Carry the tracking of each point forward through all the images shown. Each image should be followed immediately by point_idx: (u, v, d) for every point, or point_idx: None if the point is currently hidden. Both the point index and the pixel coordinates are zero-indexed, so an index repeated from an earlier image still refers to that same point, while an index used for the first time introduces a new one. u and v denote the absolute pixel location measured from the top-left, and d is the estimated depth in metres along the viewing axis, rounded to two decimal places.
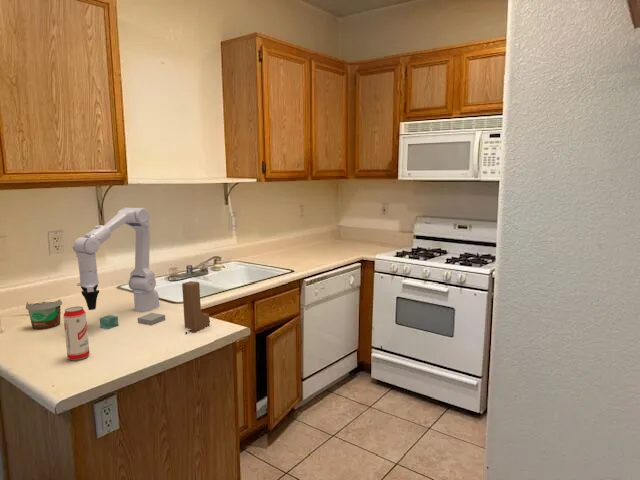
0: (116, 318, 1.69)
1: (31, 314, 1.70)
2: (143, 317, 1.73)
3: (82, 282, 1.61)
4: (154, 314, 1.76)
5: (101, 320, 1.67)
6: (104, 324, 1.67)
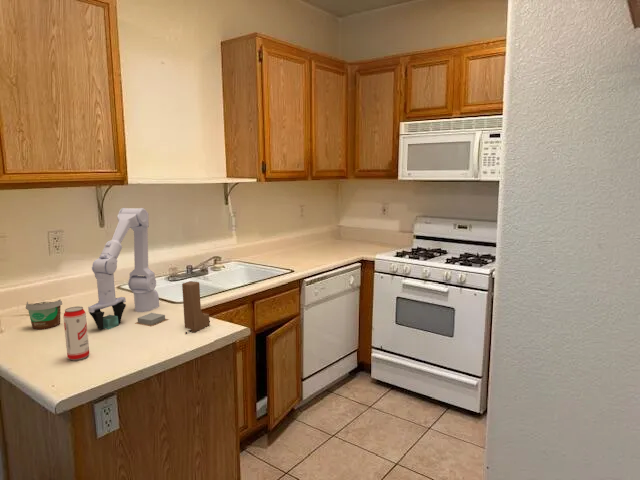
0: (116, 318, 1.69)
1: (31, 314, 1.70)
2: (143, 317, 1.73)
3: None
4: (154, 314, 1.76)
5: None
6: (104, 324, 1.67)
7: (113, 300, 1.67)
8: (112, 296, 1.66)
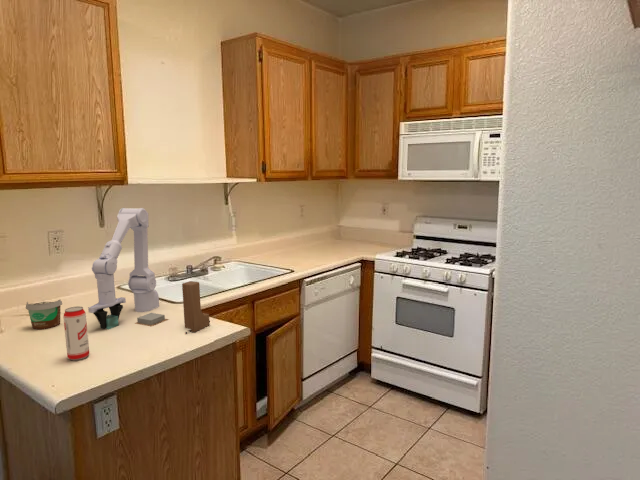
0: (116, 318, 1.69)
1: (31, 314, 1.70)
2: (143, 317, 1.73)
3: None
4: (154, 314, 1.76)
5: None
6: None
7: (113, 300, 1.67)
8: (112, 296, 1.66)
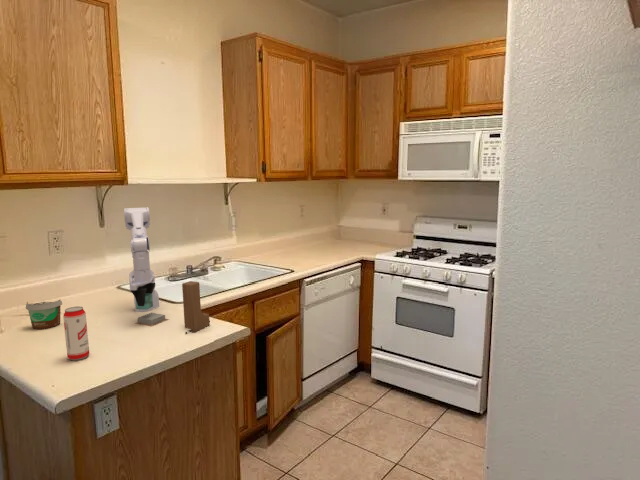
0: (151, 295, 1.73)
1: (31, 314, 1.70)
2: (143, 317, 1.73)
3: (134, 279, 1.70)
4: (154, 314, 1.76)
5: None
6: None
7: (150, 278, 1.71)
8: (149, 274, 1.71)
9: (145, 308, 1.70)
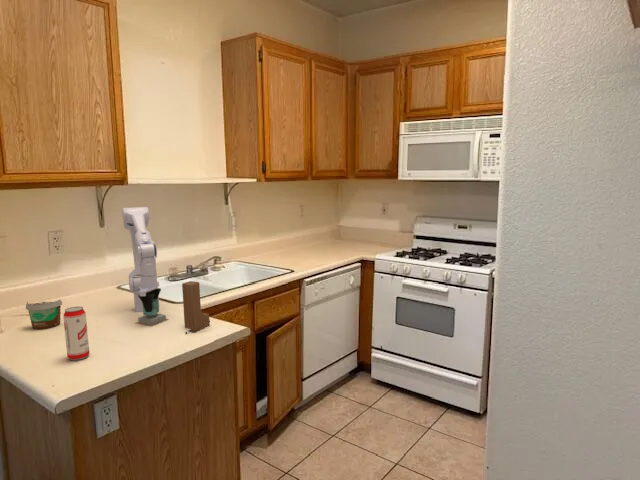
0: (157, 301, 1.75)
1: (31, 314, 1.70)
2: (144, 317, 1.73)
3: (141, 285, 1.70)
4: None
5: None
6: None
7: (157, 283, 1.73)
8: (156, 280, 1.72)
9: (153, 314, 1.72)
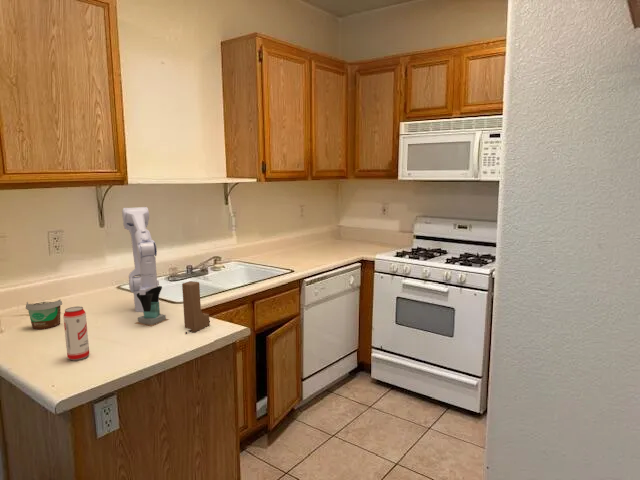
0: (158, 304, 1.75)
1: (31, 314, 1.70)
2: (143, 317, 1.73)
3: (141, 284, 1.70)
4: None
5: None
6: None
7: (156, 282, 1.72)
8: (156, 278, 1.72)
9: (153, 317, 1.72)
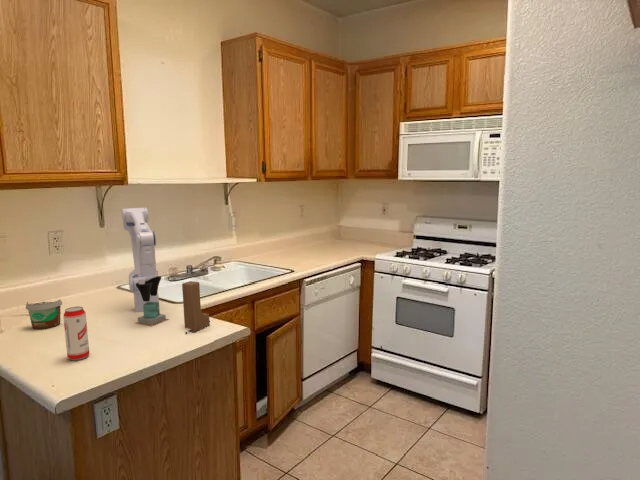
0: (158, 304, 1.75)
1: (31, 314, 1.70)
2: (143, 317, 1.73)
3: (140, 274, 1.70)
4: None
5: (145, 307, 1.71)
6: (149, 310, 1.71)
7: (156, 272, 1.72)
8: (155, 268, 1.71)
9: (153, 316, 1.72)
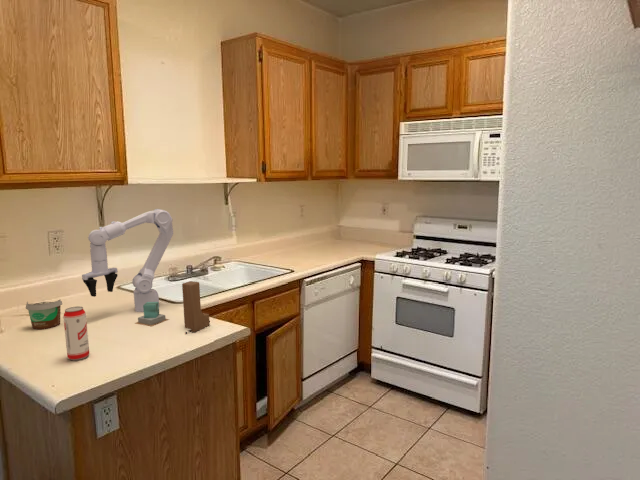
0: (158, 303, 1.75)
1: (31, 314, 1.70)
2: (143, 317, 1.73)
3: None
4: None
5: (146, 307, 1.71)
6: (149, 310, 1.72)
7: (105, 269, 1.78)
8: (104, 265, 1.78)
9: (154, 316, 1.72)
